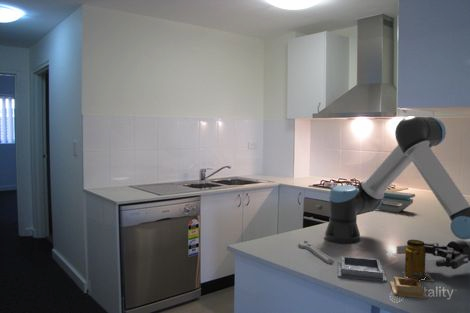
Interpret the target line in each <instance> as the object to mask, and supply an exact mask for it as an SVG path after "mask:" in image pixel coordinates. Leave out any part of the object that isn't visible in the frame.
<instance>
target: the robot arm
mask: <svg viewBox="0 0 470 313" xmlns="http://www.w3.org/2000/svg"><path fill="white" fill-rule="evenodd" d="M394 132H395V133H394V134H395V140H396V142H397V146H395V148H394V149H393V150H392V151H391V153H390V154H389V155H388V156H387V157H386V158H385V159H384V160H383V161H382V163H381V164H379V166H378V167H377V168H376V169H375V171H374V172H373V173H372V174H371V175H370V177H369V178H364V179H362V180H361V181H360V182H359V184H358V185H357V186H355V185H350V184H349V185H348V184H345V185H338V186H333V187H332V188H331V189H330V192H329V221H328V224H327V227H326V229H325V232H324V235H325V236H324V237H325V240H327V241H329V242H333V243H335V244H336V243H337V244H357V243H359V242H360V241H361V232H360V230H359V226H358V224H357V223H358V222H357V217H358V215H357V214H361V213H362V214H363V213H369V212H373V211H375V210H378V209H377V208H378V207H379V206H380V205H381V203H382V198H383V197H384V191H387V189H388V188H389V187H390V186H391V185H392V183H394V181H396V179H397V178H398V177H400V175H401V174H402V173H403V172H404V170H406V168H408V167H409V165H410V164H412V163H413V165H414V166H415V168H416V169H417V171H418V172H419V174H420V175H421V177H422V179H423V180H424V181H425V184H427V186H428V187H429V189H430V190H431V192H432V193H433V195H434V197H435V198H436V199H437V201H438V202H439V204H440V206H442V209H443V210H444V212H445V213H446V215H447V216H448V217H449V219H450V231H451V232H452V233H451V234H453V235H454V236H455V237H457V238H458V240H452V241H451V240H450V242H448V243H447V245H444V244H443V245H439V243H437V242H435V243H430V242H429V243H428V242H424V244H425V245H424V247H425V251H426V254H431V255H433V256H435V257H433V258H425V269H434V268H435V269H436V268H443V267H445V268H450V267H451V269H453V270H457V269H459V268H460V267H461V266H463V265H464V264H470V203H469V202H468V200H467V199H466V198H465V196H464V195H463V193H462V192H461V190H460V189H459V188H458V186H457V185H456V183H455V182H454V181H453V179H452V177H451V176H450V175H449V173H448V172H447V170H446V169H445V167H444V166H443V164H442V162H441V161H440V160H439V159H438V157H437V156H436V154H435V152H434V151H433V150H432V147H436V146H438V145H440V144H441V143H443V141H444V140H445V138H446V135H447V130H446V126H445V124H444V123H443V121H442V120H441V119H439V118H436V117H433V116H428V115H427V116H415V115H413V116H407V117H405V118H403V119H401V120H400V121H399V123H398V124H397V125H396V128H395V130H394ZM459 239H460V240H459ZM406 248H407V244H405V245H396V253H395V254H396V255H404V254H405V255H406V252H405V251H406Z"/></svg>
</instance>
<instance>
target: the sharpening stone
mask: <svg viewBox="0 0 470 313" xmlns="http://www.w3.org/2000/svg"><path fill="white" fill-rule="evenodd" d="M413 198H416V194H415V193H410V192H403V191H402V192H401V191H391V190H385V191H384V197H383V198H382V203H381V205H380V206H379V207H378V208H377V209H376V210H379V211H385V212H392V213H400V212H403V211H405V209H407V208H408V207H410V206H411V205H412V204H413V203H414V199H413ZM385 202H386V203H385ZM387 202H391V203H387ZM392 203H397V204H392ZM399 204H400V205H399Z"/></svg>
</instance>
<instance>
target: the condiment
mask: <svg viewBox="0 0 470 313" xmlns="http://www.w3.org/2000/svg"><path fill="white" fill-rule="evenodd" d="M424 243H425V242H424V241H423V240H420V239H419V240H418V239H409V240H407V241H406V245H407V248H406V251H405V252H406V254H405V260H404V262H405V263H404V271H401V273H402V274H403V273H404V272H405V276H406V277H408V278H412V279H419V280H420V282H423V281H425V282H435V280H434V279H433V278H432V277H431V276H430V274H429V273H427V272H426V268H425V261H426V256H427V255H426V254H427V253H426V251H425V247H424V245H425V244H424ZM405 276H404V278H406V277H405ZM425 277H426V278H425ZM424 278H425V280H421V279H424Z"/></svg>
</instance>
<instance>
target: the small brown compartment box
mask: <svg viewBox="0 0 470 313" xmlns="http://www.w3.org/2000/svg"><path fill="white" fill-rule="evenodd" d="M389 284H390V287H392V288H391V290H393V291H392V293H393V294H392V295H393V296H399V297H409V298H415V299H417V298H418V299H426V300H427V299H428V296H427V293H426V291H425V290H424V287H423V285H422V283H421V281H419V279H412V278H405V277H402V276H401V277H400V276H393V280H392V281H390V282H389Z"/></svg>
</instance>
